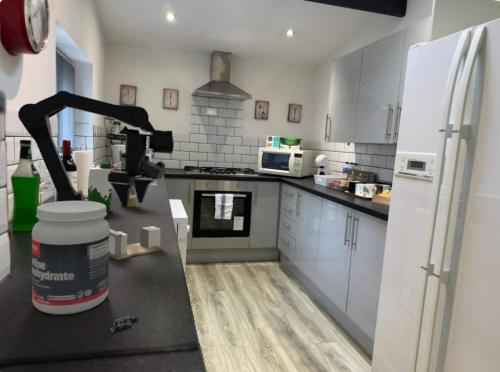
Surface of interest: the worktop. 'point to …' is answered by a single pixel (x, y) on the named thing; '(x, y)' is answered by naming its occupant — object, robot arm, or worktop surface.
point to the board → (135, 251)
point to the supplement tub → (70, 256)
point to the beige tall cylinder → (132, 191)
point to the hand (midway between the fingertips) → (133, 204)
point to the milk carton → (100, 185)
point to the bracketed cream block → (117, 243)
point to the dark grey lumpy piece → (123, 323)
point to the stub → (150, 237)
